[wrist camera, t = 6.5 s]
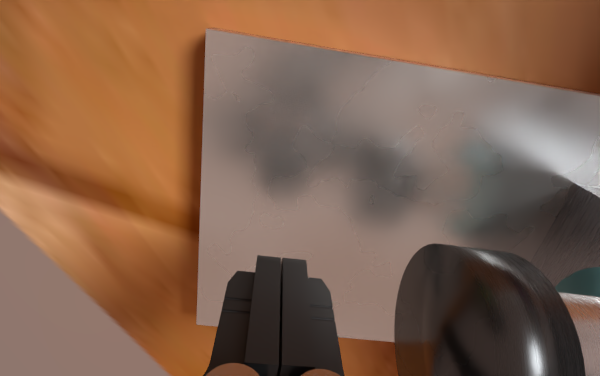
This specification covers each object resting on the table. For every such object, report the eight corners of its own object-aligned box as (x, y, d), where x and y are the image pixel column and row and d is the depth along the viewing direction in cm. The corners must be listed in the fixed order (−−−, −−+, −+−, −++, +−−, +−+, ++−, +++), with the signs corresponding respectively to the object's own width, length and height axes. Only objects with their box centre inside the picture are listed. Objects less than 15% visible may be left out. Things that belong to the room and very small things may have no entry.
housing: (836, 134, 14) (1727, 323, 5) (645, 347, 20) (926, 605, 11) (213, 27, 12) (-13, 55, 3) (202, 305, 17) (113, 594, 9)
